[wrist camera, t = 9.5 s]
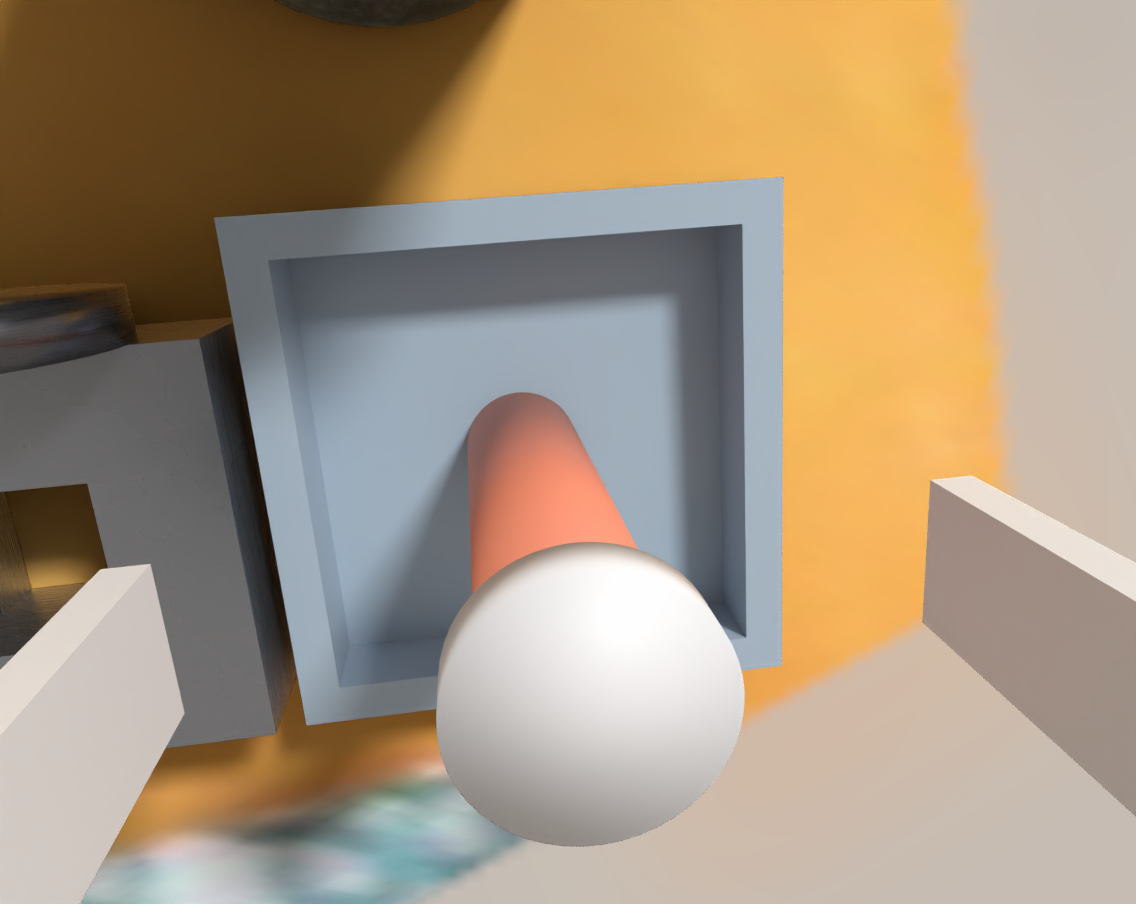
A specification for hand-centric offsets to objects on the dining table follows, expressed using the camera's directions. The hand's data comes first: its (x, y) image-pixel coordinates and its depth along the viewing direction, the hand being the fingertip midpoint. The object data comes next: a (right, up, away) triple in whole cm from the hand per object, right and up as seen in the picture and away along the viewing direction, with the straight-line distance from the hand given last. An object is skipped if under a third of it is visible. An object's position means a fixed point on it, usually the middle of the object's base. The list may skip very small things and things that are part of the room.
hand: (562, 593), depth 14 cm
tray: (-1, +3, +10) cm, 10 cm away
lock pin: (-1, +3, +9) cm, 9 cm away
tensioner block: (-13, +1, +9) cm, 16 cm away
